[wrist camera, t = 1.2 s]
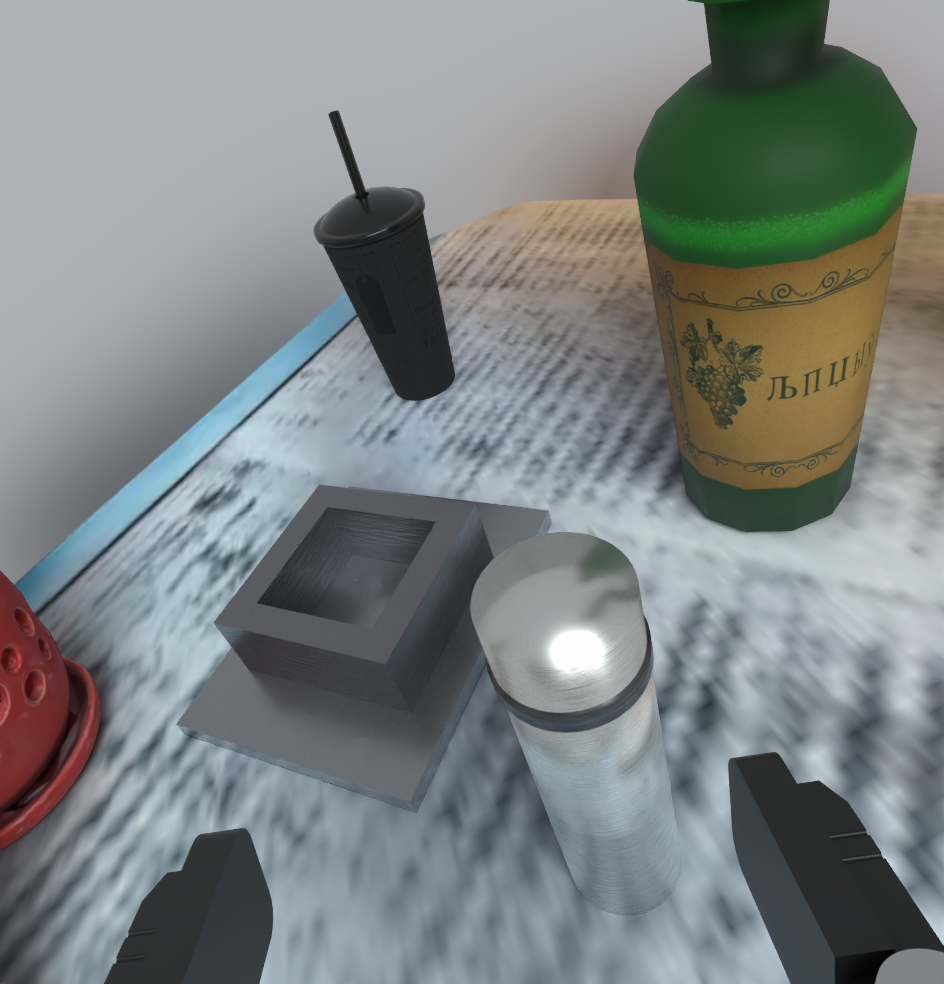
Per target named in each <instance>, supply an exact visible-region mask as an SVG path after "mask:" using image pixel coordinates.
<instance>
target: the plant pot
mask: <svg viewBox="0 0 944 984" xmlns="http://www.w3.org/2000/svg"><path fill="white" fill-rule="evenodd" d="M99 722H100V698H99V693H98V689H97V686H96V683H95V681H94V679H93V677H92V676H91V674H90V673H89V672H88V671H87V669H86V668H84V667H83V666H82V665H80V664H79V663H77V662H75V661H73V660H70V659H67V658H63V657H62V656H61V653H60V650H59V648H58V646H57V644H56V642H55V641H54V639H53V637H52V635H51V634H50V632H49V631H48V630H47V629H46V627H45V626H44V625H43V624H42V622H41V621H40V620H39V619H38V618H37V617H36V615H35V614H34V613H33V612H32V610H31V608H30V607H29V605H28V603H27V602H26V600H25V598H24V596H23V595H22V593H21V592H20V591H19V590H18V589H17V588H16V587H15V586H14V584H13V583H12V582H11V581H10V580H9V579H8V578H7V577H6V576H5V575H4V574H3V573H2V572H1V571H0V850H1V849H3V848H5V847H6V846H8V845H9V844H11V843H13V842H14V841H16V840H17V839H18V838H20V837H21V836H22V835H24V834H25V833H26V832H28V831H29V830H30V829H32V828H33V827H34V826H35V825H36V824H38V823H39V822H40V821H41V820H42V819H43V818H44V817H45V816H46V815H47V814H48V813H49V812H50V811H51V810H52V809H53V808H54V807H55V806H56V804H57V803H58V802H59V801H60V800H61V799H62V798H63V796H64V795H65V794H66V793H67V791H68V790H69V789H70V788H71V786H72V785H73V784H74V782H75V781H76V779H77V778H78V776H79V774H80V773H81V771H82V769H83V767H84V766H85V764H86V762H87V760H88V758H89V756H90V753H91V751H92V749H93V746H94V743H95V740H96V737H97V733H98V729H99Z"/></svg>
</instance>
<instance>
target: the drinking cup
mask: <svg viewBox="0 0 944 984" xmlns="http://www.w3.org/2000/svg"><path fill="white" fill-rule="evenodd" d="M328 115H329V118H330V121H331V124H332V127H333V130H334V132H335V135H336V138H337V141H338V144H339V147H340V150H341V153H342V156H343V158H344V161H345V164H346V167H347V170H348V173H349V176H350V179H351V182H352V184H353V187H354V190H355V193H354V194H352V195H349V196H348V197H346V198H344V199H343V200H341V201H340V202H338V203H337V204H336V205H335V206H333V208H331V209H330V211H329V212H327V213H326V214H325V215H323V216H322V217H321V218H320V219H319V220H318V222H317V223H316V224H315V226H314V236H315V238H316V240H317V241H318V242H319V243H320V244H321V245H323V246H324V248H325V250H326V252H327V254H328V256H329V258H330V260H331V262H332V264H333V266H334V268H335V270H336V272H337V274H338V276H339V278H340V280H341V282H342V284H343V286H344V288H345V290H346V293H347V295H348V297H349V299H350V301H351V303H352V305H353V307H354V309H355V311H356V313H357V315H358V317H359V319H360V321H361V323H362V325H363V327H364V329H365V331H366V333H367V335H368V337H369V339H370V341H371V343H372V345H373V347H374V349H375V351H376V353H377V355H378V357H379V359H380V361H381V363H382V365H383V367H384V369H385V371H386V374H387V376H388V378H389V380H390V382H391V384H392V386H393V388H394V390H395V392H396V394H397V395H398V396H399V397H401V398H403V399H406V400H423V399H427V398H430V397H433V396H436V395H438V394H440V393H441V392H443V391H444V390H446V389H447V388H448V387H449V386H450V385H451V384H452V382H453V380H454V377H455V372H454V367H453V362H452V356H451V351H450V346H449V341H448V336H447V331H446V326H445V321H444V316H443V311H442V306H441V301H440V296H439V291H438V286H437V281H436V276H435V271H434V266H433V261H432V256H431V251H430V246H429V240H428V236H427V230H426V225H425V221H424V215H423V211H424V208H425V201H424V198H423V196H422V194H421V193H420V192H418V191H416V190H414V189H408V188H395V187H375V188H369V189H365V187H364V184H363V181H362V179H361V176H360V172H359V170H358V167H357V164H356V161H355V158H354V155H353V152H352V149H351V146H350V143H349V140H348V137H347V134H346V131H345V128H344V125H343V122H342V119H341V116H340V113H339V111H333V112H330V113H329V114H328Z"/></svg>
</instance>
